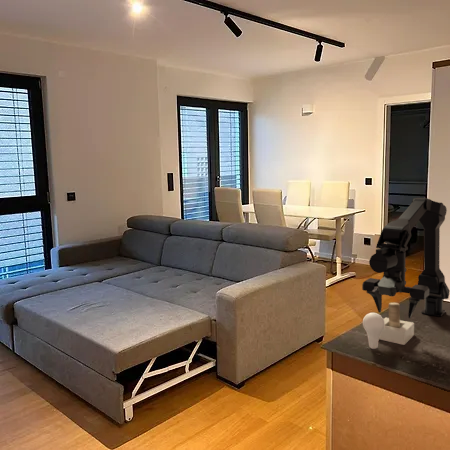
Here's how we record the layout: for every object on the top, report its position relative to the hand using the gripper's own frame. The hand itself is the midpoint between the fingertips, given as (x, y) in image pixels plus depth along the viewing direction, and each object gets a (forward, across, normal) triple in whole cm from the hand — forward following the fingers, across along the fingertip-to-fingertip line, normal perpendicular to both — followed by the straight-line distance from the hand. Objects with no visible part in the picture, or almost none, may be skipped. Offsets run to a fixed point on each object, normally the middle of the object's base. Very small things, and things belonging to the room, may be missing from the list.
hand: (394, 315), depth 141 cm
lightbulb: (+7, -2, -12) cm, 14 cm away
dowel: (+7, 0, 0) cm, 7 cm away
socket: (+7, 0, 0) cm, 7 cm away
